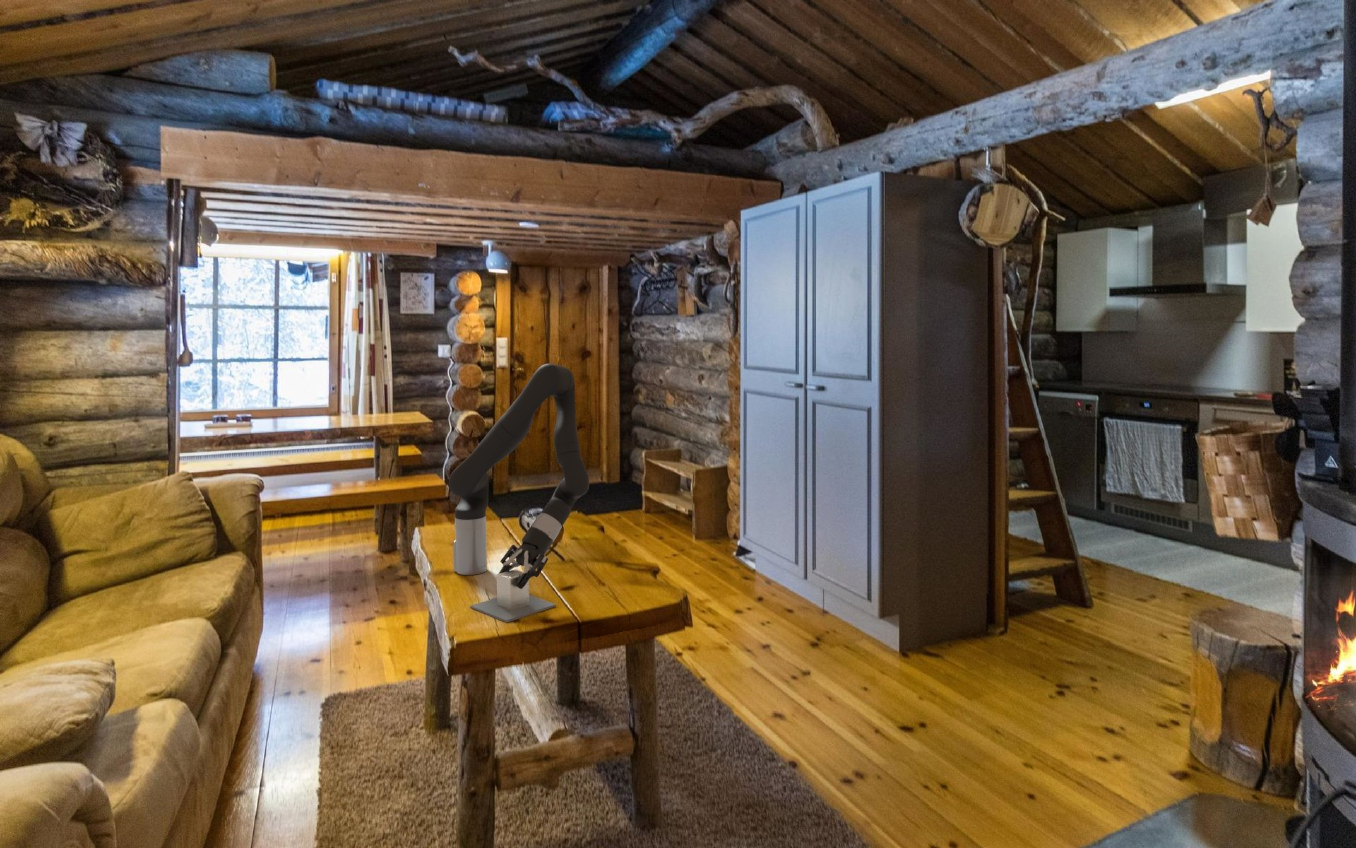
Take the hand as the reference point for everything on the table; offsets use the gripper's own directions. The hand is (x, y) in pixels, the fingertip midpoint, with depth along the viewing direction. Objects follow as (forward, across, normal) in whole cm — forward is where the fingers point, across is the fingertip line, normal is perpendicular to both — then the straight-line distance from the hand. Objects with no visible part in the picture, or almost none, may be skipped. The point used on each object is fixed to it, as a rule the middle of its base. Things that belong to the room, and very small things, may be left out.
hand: (508, 583), depth 204 cm
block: (+3, 0, +5) cm, 6 cm away
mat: (+4, 0, +6) cm, 7 cm away
